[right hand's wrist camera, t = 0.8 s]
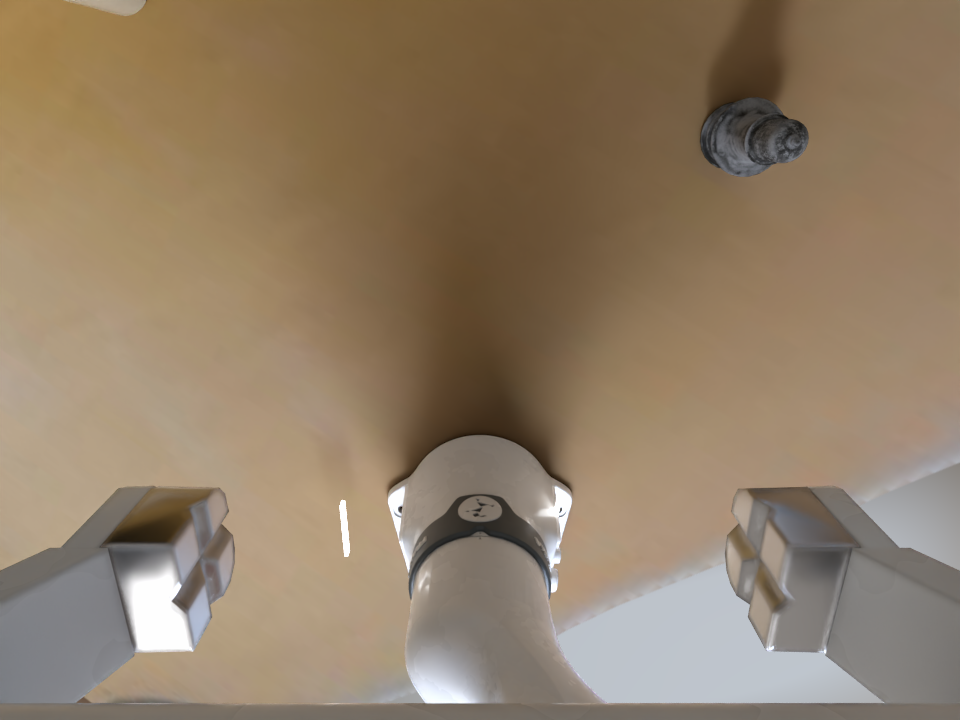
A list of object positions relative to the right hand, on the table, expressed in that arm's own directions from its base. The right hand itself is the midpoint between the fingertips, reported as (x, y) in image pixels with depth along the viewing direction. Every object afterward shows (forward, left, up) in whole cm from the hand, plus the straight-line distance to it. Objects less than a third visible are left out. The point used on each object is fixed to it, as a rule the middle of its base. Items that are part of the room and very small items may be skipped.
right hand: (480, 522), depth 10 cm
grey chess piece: (+4, -21, -48) cm, 53 cm away
